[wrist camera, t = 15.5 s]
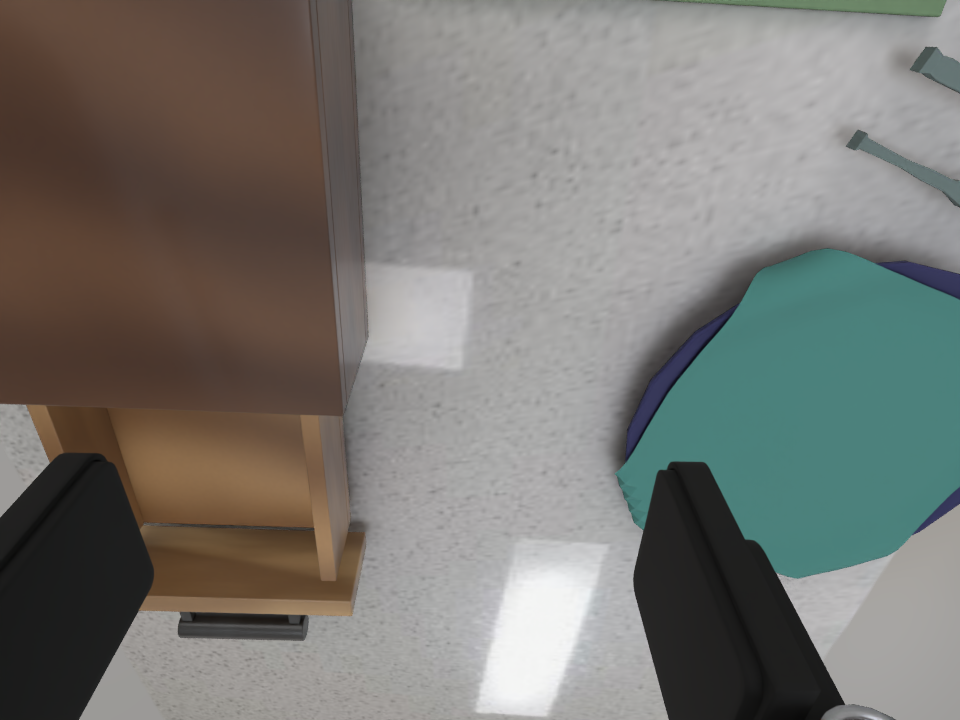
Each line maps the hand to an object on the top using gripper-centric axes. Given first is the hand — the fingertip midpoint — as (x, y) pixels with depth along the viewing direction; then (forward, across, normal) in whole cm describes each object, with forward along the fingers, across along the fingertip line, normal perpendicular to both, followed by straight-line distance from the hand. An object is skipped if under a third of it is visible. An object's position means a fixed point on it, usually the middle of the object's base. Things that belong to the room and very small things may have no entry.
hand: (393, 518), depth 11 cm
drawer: (+17, +11, +14) cm, 25 cm away
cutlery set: (+18, -21, +6) cm, 29 cm away
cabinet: (+18, +11, -2) cm, 21 cm away
